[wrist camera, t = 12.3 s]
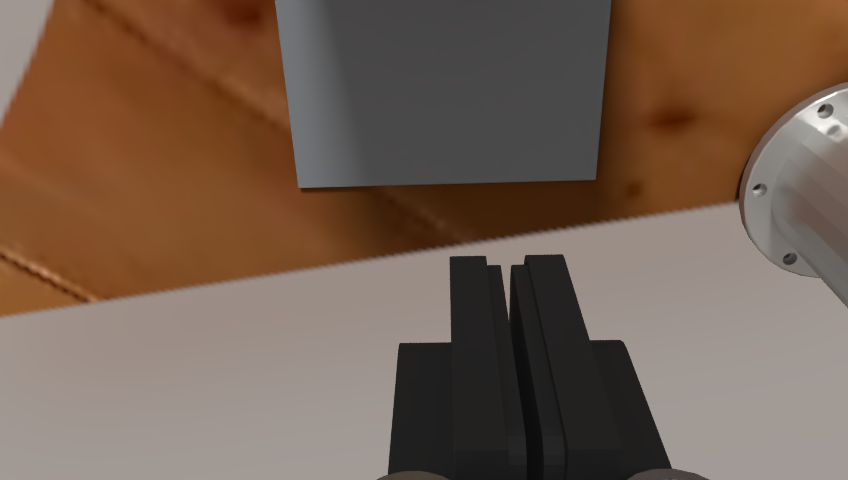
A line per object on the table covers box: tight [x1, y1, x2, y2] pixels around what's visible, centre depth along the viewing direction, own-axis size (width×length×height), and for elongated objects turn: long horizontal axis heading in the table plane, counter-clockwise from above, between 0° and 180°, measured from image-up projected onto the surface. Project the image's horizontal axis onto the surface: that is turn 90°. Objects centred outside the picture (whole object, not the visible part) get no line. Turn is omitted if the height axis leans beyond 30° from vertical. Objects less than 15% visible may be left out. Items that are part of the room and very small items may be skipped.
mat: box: [275, 0, 611, 188], centre depth 41 cm, size 18×14×1 cm
